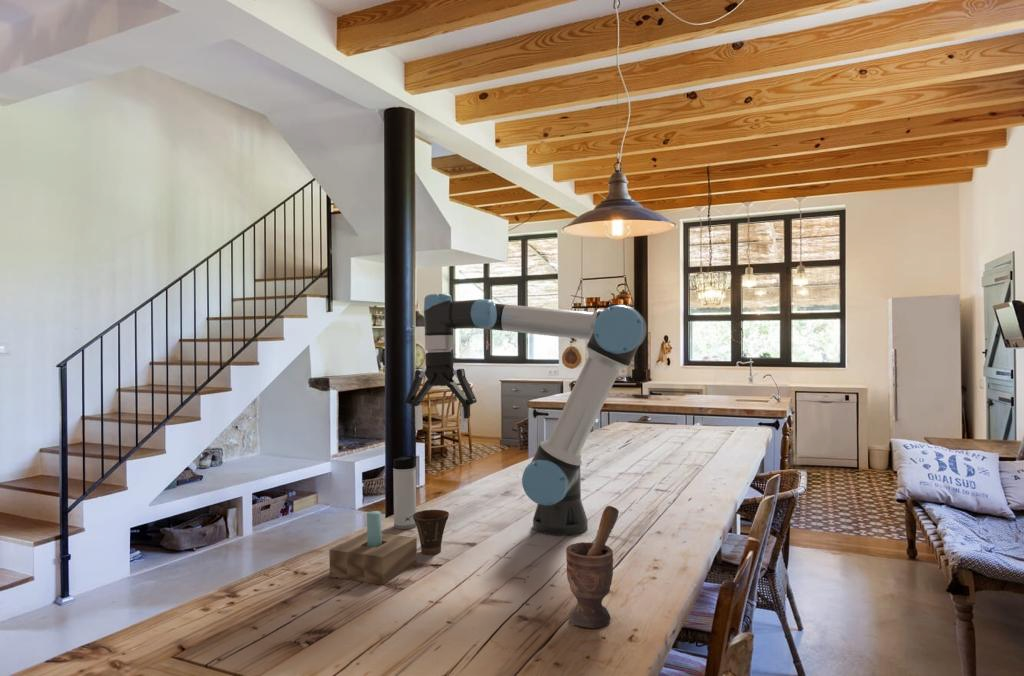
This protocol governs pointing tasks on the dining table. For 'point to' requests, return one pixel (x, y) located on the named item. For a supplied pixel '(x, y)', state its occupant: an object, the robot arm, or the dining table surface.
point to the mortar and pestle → (592, 574)
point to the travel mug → (404, 492)
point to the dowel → (374, 529)
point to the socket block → (373, 558)
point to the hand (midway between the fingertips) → (441, 430)
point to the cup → (430, 529)
